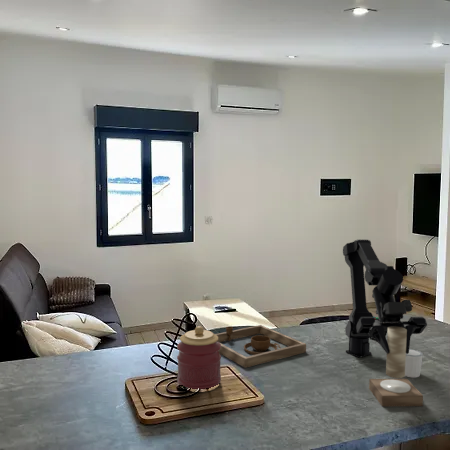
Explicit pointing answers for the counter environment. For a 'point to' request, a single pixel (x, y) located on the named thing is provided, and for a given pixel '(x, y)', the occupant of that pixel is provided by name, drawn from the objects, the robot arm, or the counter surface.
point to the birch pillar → (396, 352)
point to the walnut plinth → (395, 392)
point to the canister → (199, 359)
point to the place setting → (255, 342)
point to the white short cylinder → (413, 363)
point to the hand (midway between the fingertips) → (398, 353)
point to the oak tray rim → (293, 349)
